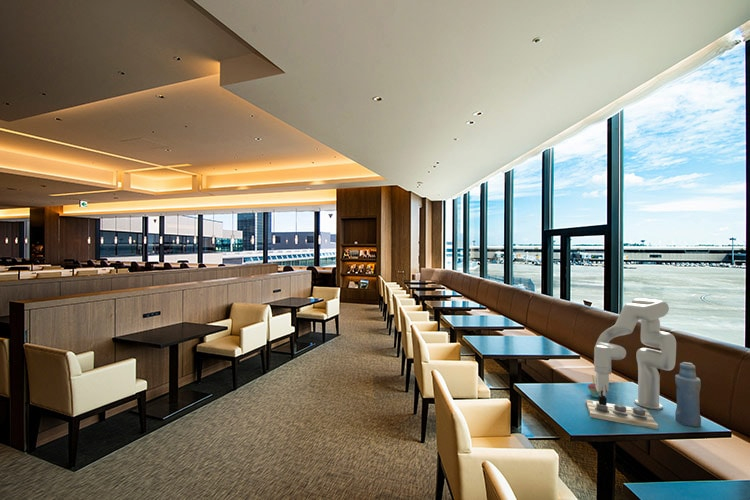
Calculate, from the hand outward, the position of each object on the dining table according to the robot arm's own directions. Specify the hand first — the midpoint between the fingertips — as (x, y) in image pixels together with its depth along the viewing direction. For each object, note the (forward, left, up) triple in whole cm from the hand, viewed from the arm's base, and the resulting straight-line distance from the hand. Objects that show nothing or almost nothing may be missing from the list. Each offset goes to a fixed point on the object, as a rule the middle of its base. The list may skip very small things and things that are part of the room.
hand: (602, 404), depth 188 cm
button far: (0, 0, -3) cm, 3 cm away
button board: (-3, +8, -5) cm, 10 cm away
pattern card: (-9, +8, -3) cm, 12 cm away
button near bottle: (0, +16, -1) cm, 16 cm away
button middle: (0, +8, -2) cm, 8 cm away
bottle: (-9, +38, -5) cm, 39 cm away
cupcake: (-29, +1, -5) cm, 29 cm away
